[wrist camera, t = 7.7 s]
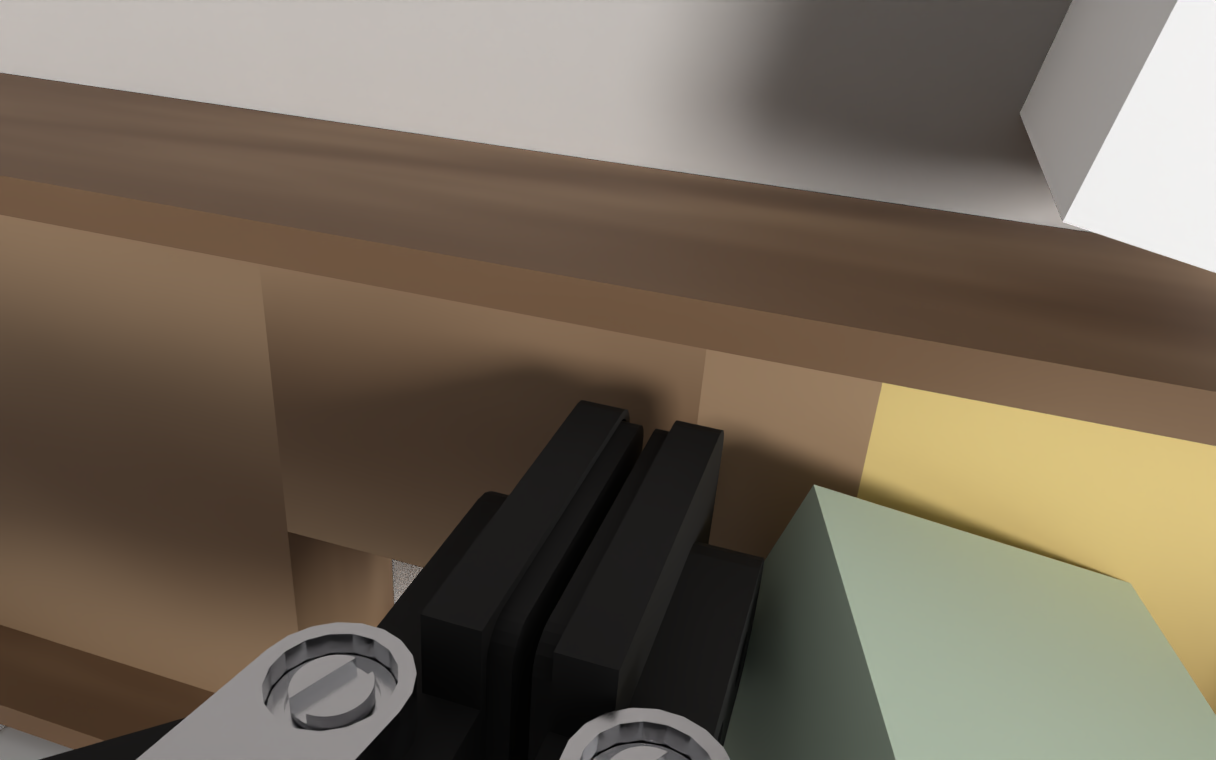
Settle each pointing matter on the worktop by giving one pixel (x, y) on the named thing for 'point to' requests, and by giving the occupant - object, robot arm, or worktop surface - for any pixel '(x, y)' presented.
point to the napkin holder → (1132, 123)
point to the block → (951, 651)
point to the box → (520, 377)
